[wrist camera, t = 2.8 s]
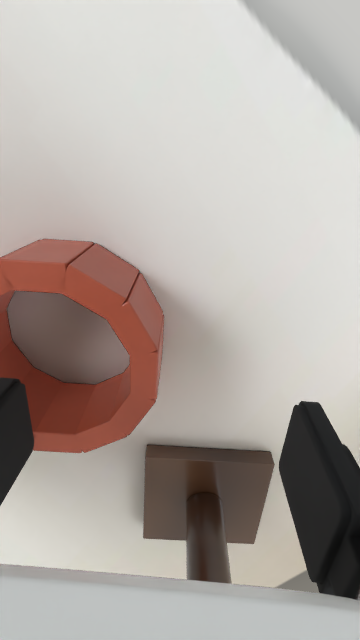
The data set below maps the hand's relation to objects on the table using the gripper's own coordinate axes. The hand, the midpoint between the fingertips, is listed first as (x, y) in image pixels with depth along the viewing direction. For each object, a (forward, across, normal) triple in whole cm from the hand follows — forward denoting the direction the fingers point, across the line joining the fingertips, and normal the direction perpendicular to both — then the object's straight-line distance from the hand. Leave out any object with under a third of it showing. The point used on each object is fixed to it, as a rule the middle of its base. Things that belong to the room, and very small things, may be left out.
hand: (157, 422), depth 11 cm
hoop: (+6, +5, 0) cm, 8 cm away
